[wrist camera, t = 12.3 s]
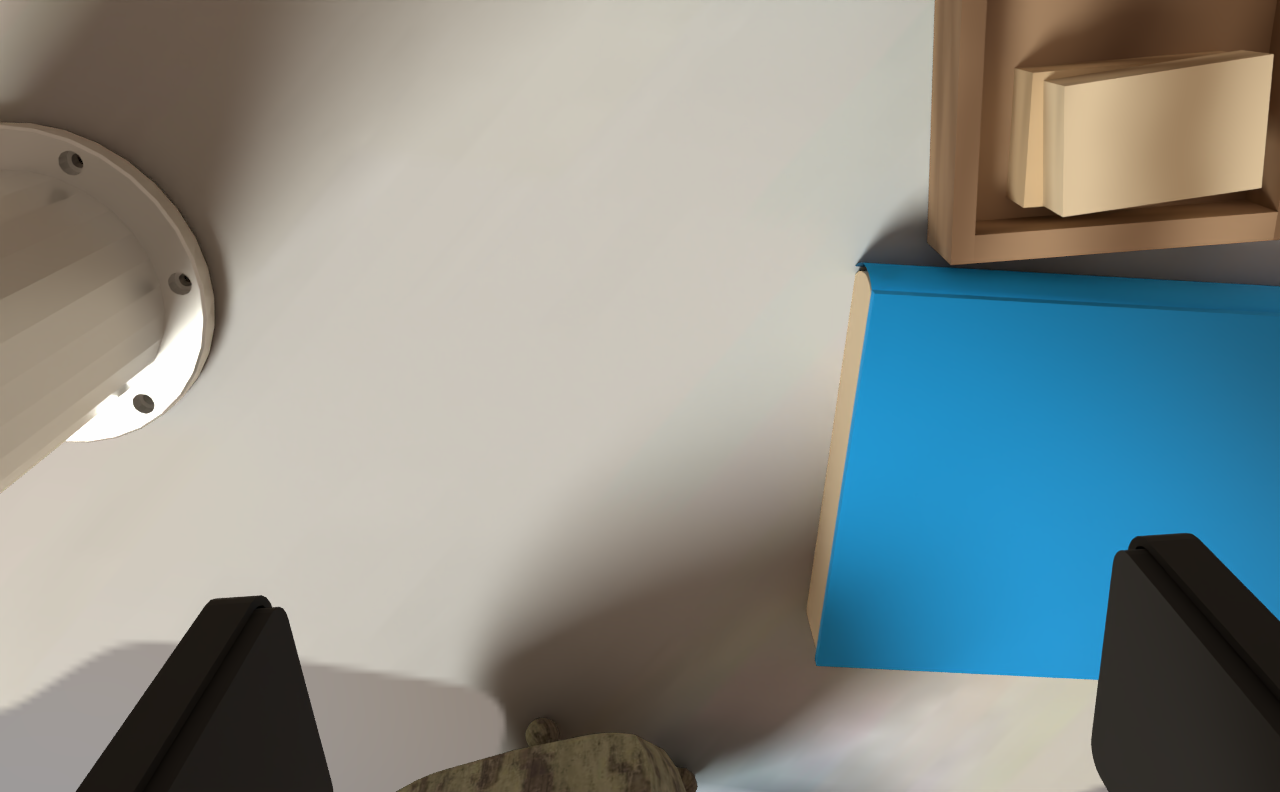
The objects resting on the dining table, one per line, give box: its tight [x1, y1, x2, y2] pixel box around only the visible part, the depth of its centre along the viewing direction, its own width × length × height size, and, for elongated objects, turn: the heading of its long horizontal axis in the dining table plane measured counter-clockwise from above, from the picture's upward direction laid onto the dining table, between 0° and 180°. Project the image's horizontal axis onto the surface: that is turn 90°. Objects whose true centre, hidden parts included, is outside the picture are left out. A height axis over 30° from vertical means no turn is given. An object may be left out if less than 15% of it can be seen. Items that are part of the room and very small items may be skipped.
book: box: [806, 262, 1280, 680], centre depth 40 cm, size 17×4×25 cm
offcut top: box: [1043, 50, 1274, 217], centre depth 33 cm, size 6×4×2 cm, turn 99°
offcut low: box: [1006, 51, 1226, 208], centre depth 34 cm, size 7×4×2 cm, turn 95°
